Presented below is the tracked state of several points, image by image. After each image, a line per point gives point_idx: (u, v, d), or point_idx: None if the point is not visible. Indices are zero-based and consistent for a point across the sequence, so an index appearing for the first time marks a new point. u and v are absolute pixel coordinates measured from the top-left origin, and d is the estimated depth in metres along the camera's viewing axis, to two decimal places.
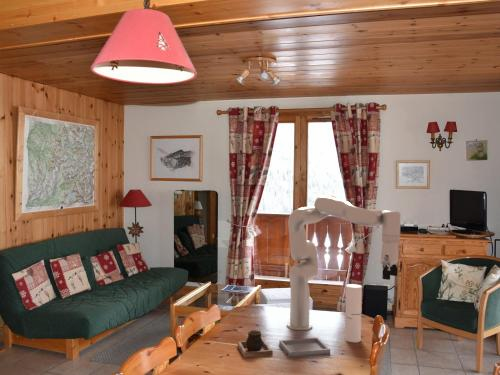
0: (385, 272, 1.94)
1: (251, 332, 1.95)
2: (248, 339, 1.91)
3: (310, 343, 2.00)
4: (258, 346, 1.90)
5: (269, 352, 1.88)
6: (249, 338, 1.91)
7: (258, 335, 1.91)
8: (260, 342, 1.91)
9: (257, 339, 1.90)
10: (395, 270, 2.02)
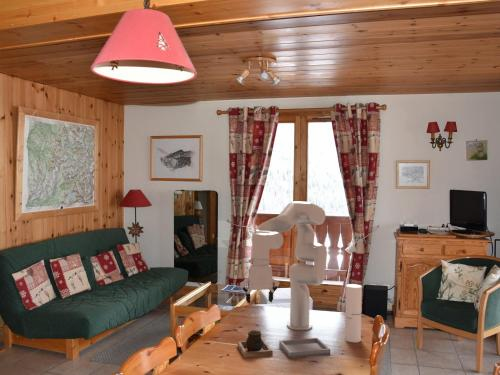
0: None
1: (251, 332, 1.95)
2: (248, 339, 1.91)
3: (310, 343, 2.00)
4: (258, 346, 1.90)
5: (269, 352, 1.88)
6: (249, 338, 1.91)
7: (258, 335, 1.91)
8: (260, 342, 1.91)
9: (257, 339, 1.90)
10: None
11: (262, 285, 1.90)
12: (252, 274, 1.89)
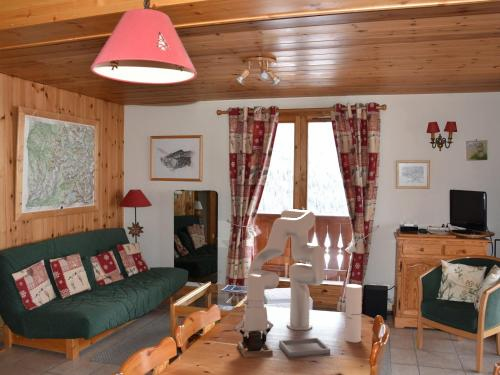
0: None
1: (251, 332, 1.95)
2: (248, 339, 1.91)
3: (310, 343, 2.00)
4: (258, 346, 1.90)
5: (269, 352, 1.88)
6: (249, 338, 1.91)
7: (258, 335, 1.91)
8: (260, 342, 1.91)
9: (257, 339, 1.90)
10: None
11: (257, 326, 1.90)
12: (247, 316, 1.89)
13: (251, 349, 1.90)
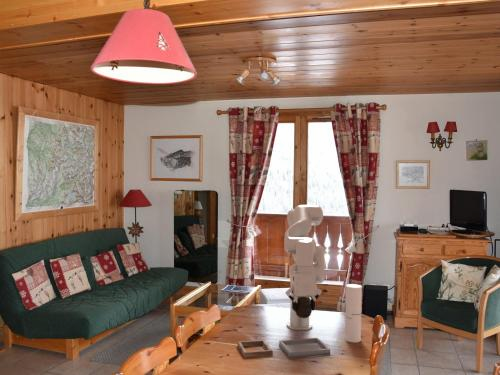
0: None
1: (300, 298, 1.96)
2: (297, 305, 1.93)
3: (310, 343, 2.00)
4: (308, 311, 1.91)
5: (269, 352, 1.88)
6: (298, 304, 1.92)
7: (308, 301, 1.92)
8: (310, 308, 1.92)
9: (307, 305, 1.91)
10: None
11: (306, 292, 1.91)
12: (297, 281, 1.90)
13: (301, 314, 1.91)
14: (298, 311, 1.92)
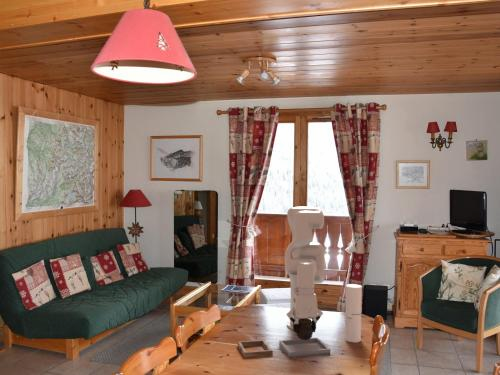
0: None
1: (301, 320, 1.96)
2: (299, 327, 1.92)
3: (310, 343, 2.00)
4: (309, 333, 1.91)
5: (269, 352, 1.88)
6: (300, 326, 1.92)
7: (309, 322, 1.92)
8: (311, 329, 1.92)
9: (308, 326, 1.91)
10: None
11: (308, 314, 1.91)
12: (298, 303, 1.90)
13: (302, 336, 1.91)
14: (299, 333, 1.91)
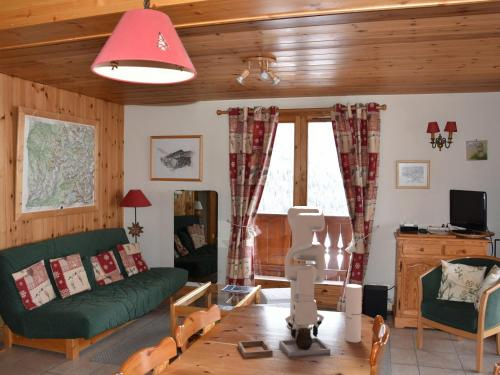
0: None
1: (300, 329, 1.96)
2: (298, 336, 1.93)
3: None
4: (308, 343, 1.91)
5: (269, 352, 1.88)
6: (299, 335, 1.92)
7: (308, 332, 1.92)
8: (310, 339, 1.92)
9: (307, 336, 1.92)
10: None
11: (307, 320, 1.91)
12: (298, 310, 1.90)
13: (301, 346, 1.91)
14: (299, 343, 1.92)
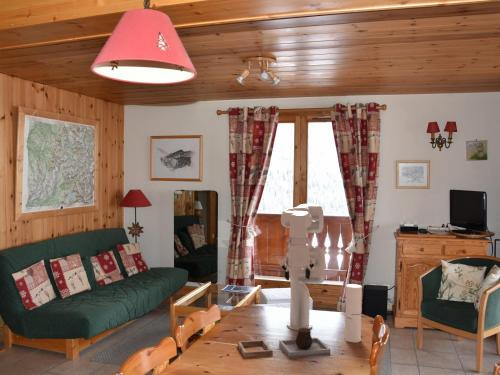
0: None
1: (300, 329, 1.96)
2: (298, 336, 1.93)
3: None
4: (308, 343, 1.91)
5: (269, 352, 1.88)
6: (299, 335, 1.92)
7: (308, 332, 1.92)
8: (310, 339, 1.92)
9: (307, 336, 1.92)
10: None
11: (300, 263, 1.99)
12: (291, 253, 1.98)
13: (301, 346, 1.91)
14: (299, 343, 1.92)
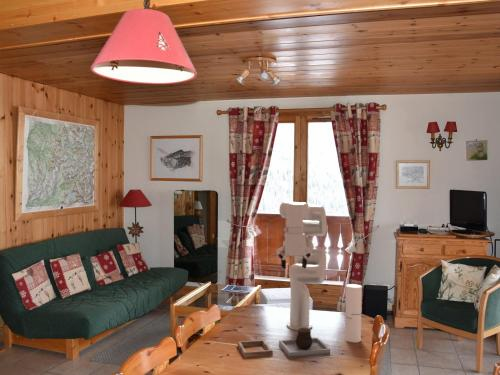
0: None
1: (300, 329, 1.96)
2: (298, 336, 1.93)
3: None
4: (308, 343, 1.91)
5: (269, 352, 1.88)
6: (299, 335, 1.92)
7: (308, 332, 1.92)
8: (310, 339, 1.92)
9: (307, 336, 1.92)
10: None
11: (297, 252, 2.02)
12: (287, 241, 2.01)
13: (301, 346, 1.91)
14: (299, 343, 1.92)
